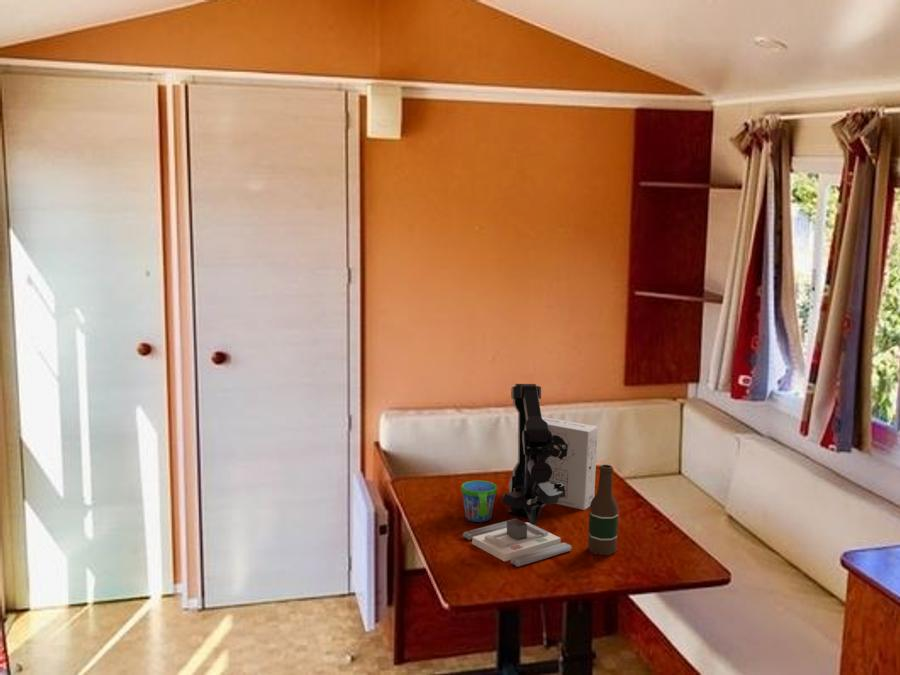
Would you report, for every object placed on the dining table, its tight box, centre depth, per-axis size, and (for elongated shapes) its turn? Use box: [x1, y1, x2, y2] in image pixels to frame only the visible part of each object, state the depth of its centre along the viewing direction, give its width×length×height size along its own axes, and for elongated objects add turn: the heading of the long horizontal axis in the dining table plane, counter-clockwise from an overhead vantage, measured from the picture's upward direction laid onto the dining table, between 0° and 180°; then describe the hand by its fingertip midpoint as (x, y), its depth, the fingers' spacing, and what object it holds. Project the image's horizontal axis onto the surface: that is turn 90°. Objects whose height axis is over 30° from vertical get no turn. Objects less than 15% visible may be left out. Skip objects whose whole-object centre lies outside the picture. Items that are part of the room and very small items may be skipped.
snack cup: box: [460, 480, 498, 523], centre depth 266 cm, size 16×10×10 cm
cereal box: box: [540, 416, 599, 511], centre depth 282 cm, size 22×8×25 cm, turn 58°
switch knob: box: [506, 518, 527, 540], centre depth 247 cm, size 3×5×4 cm, turn 36°
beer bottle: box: [587, 464, 619, 556], centre depth 243 cm, size 8×8×24 cm
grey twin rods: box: [462, 520, 573, 568], centre depth 248 cm, size 20×24×2 cm
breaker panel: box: [471, 522, 562, 563], centre depth 248 cm, size 20×14×3 cm
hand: (533, 524), depth 251 cm, fingers closed
